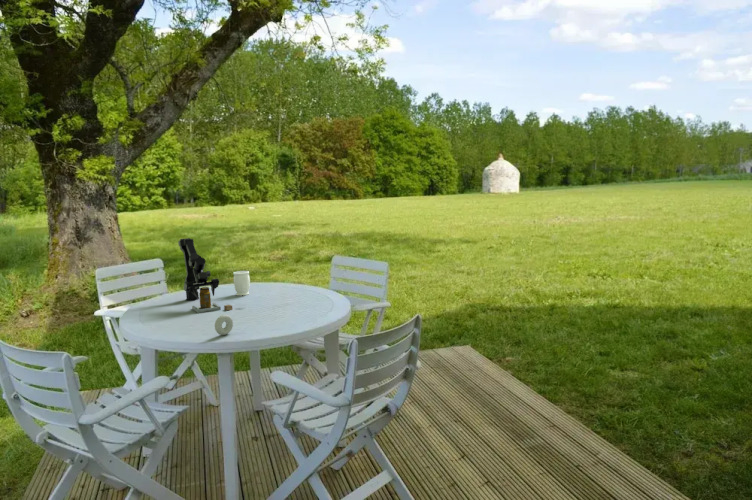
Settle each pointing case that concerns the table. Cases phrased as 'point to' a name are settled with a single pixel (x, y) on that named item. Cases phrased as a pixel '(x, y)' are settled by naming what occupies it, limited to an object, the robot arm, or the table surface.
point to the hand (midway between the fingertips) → (205, 296)
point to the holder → (214, 308)
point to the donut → (227, 328)
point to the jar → (241, 282)
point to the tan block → (227, 307)
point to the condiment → (205, 298)
